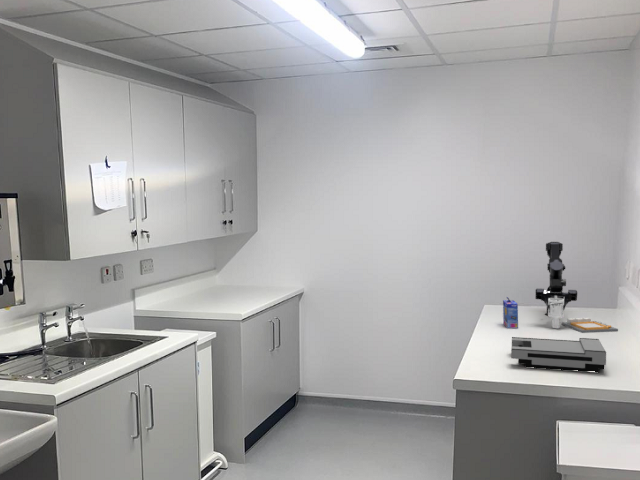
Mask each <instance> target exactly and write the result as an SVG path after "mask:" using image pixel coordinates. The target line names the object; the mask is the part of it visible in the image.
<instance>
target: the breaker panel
mask: <svg viewBox="0 0 640 480" xmlns="http://www.w3.org/2000/svg"><path fill="white" fill-rule="evenodd" d="M591 319H592V318H590V317H578V318H577V317H576V318H566V322H565V321H564V322H561V325H562V326H564V327H566V328H569V329H572V330H574V331H577V332H580V333H584V334H585V333H604V332H606V333H607V332H619V328H616V327H613V326H612V325H608V324H607V323H602V322H601V321H596V320H594V321H593V320H591Z"/></svg>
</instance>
